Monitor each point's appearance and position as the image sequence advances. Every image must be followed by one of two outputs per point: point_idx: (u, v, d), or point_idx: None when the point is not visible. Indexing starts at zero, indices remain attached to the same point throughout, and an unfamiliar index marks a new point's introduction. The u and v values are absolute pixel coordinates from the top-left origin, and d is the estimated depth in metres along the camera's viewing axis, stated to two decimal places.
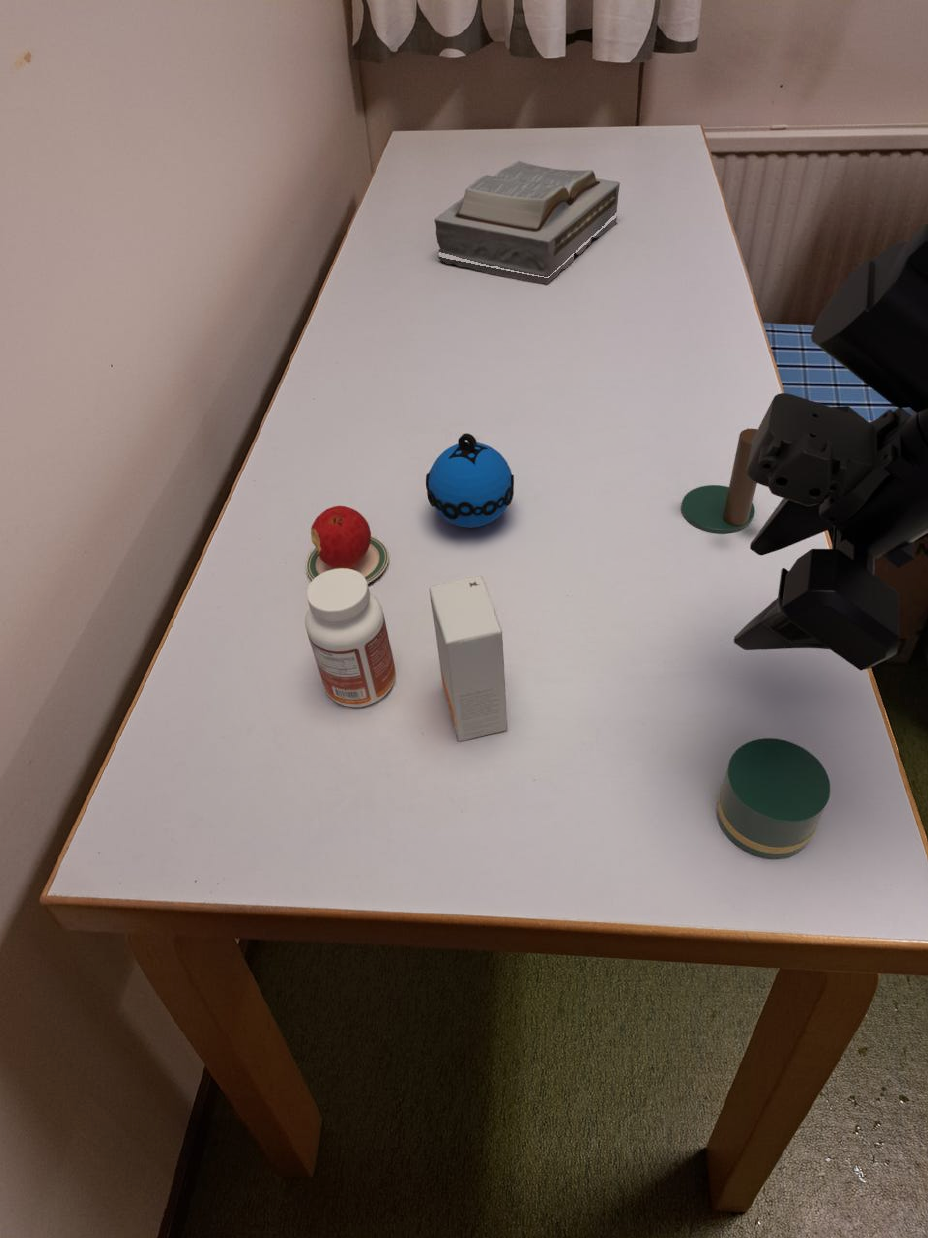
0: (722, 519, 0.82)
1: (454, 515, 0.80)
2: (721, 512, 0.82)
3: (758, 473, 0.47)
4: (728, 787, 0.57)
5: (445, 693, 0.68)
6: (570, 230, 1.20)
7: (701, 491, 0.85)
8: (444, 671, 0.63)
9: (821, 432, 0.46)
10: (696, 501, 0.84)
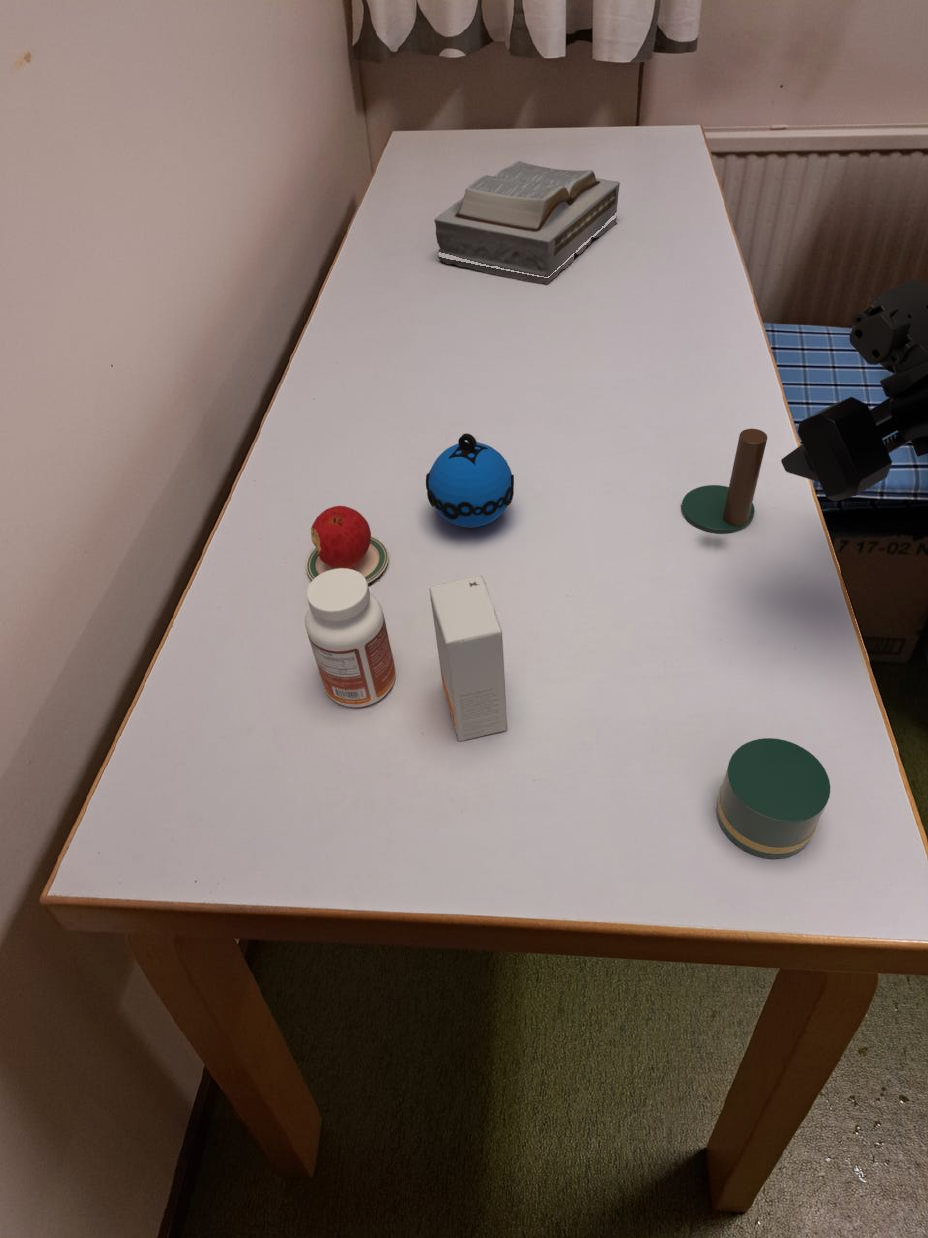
0: (722, 519, 0.82)
1: (454, 515, 0.80)
2: (721, 512, 0.82)
3: None
4: (728, 787, 0.57)
5: (445, 693, 0.68)
6: (570, 230, 1.20)
7: (701, 491, 0.85)
8: (444, 671, 0.63)
9: (919, 318, 0.57)
10: (696, 501, 0.84)
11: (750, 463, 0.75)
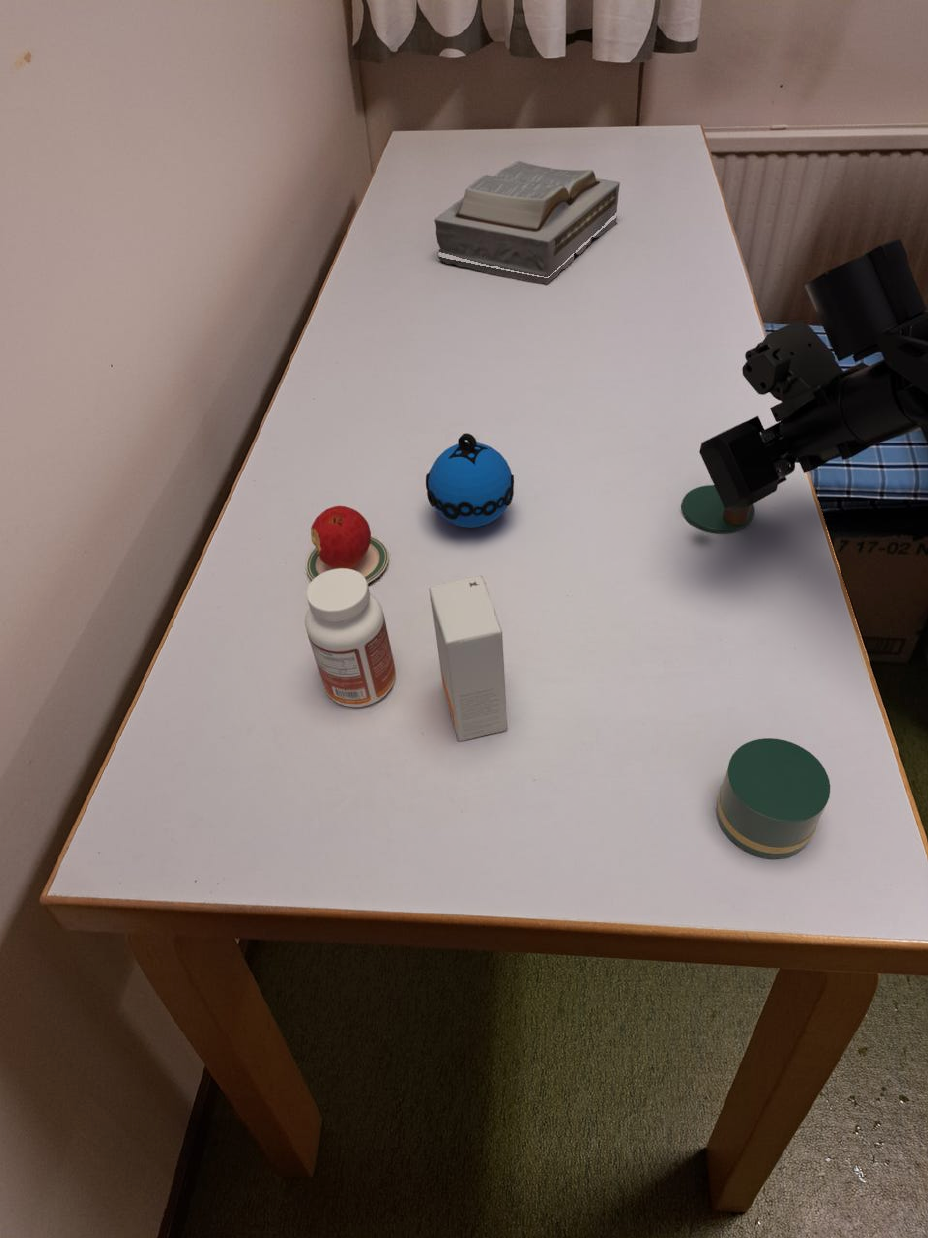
0: (722, 519, 0.82)
1: (454, 515, 0.80)
2: (721, 512, 0.82)
3: None
4: (728, 787, 0.57)
5: (445, 693, 0.68)
6: (570, 230, 1.20)
7: (701, 491, 0.85)
8: (444, 671, 0.63)
9: (800, 355, 0.66)
10: (696, 501, 0.84)
11: None
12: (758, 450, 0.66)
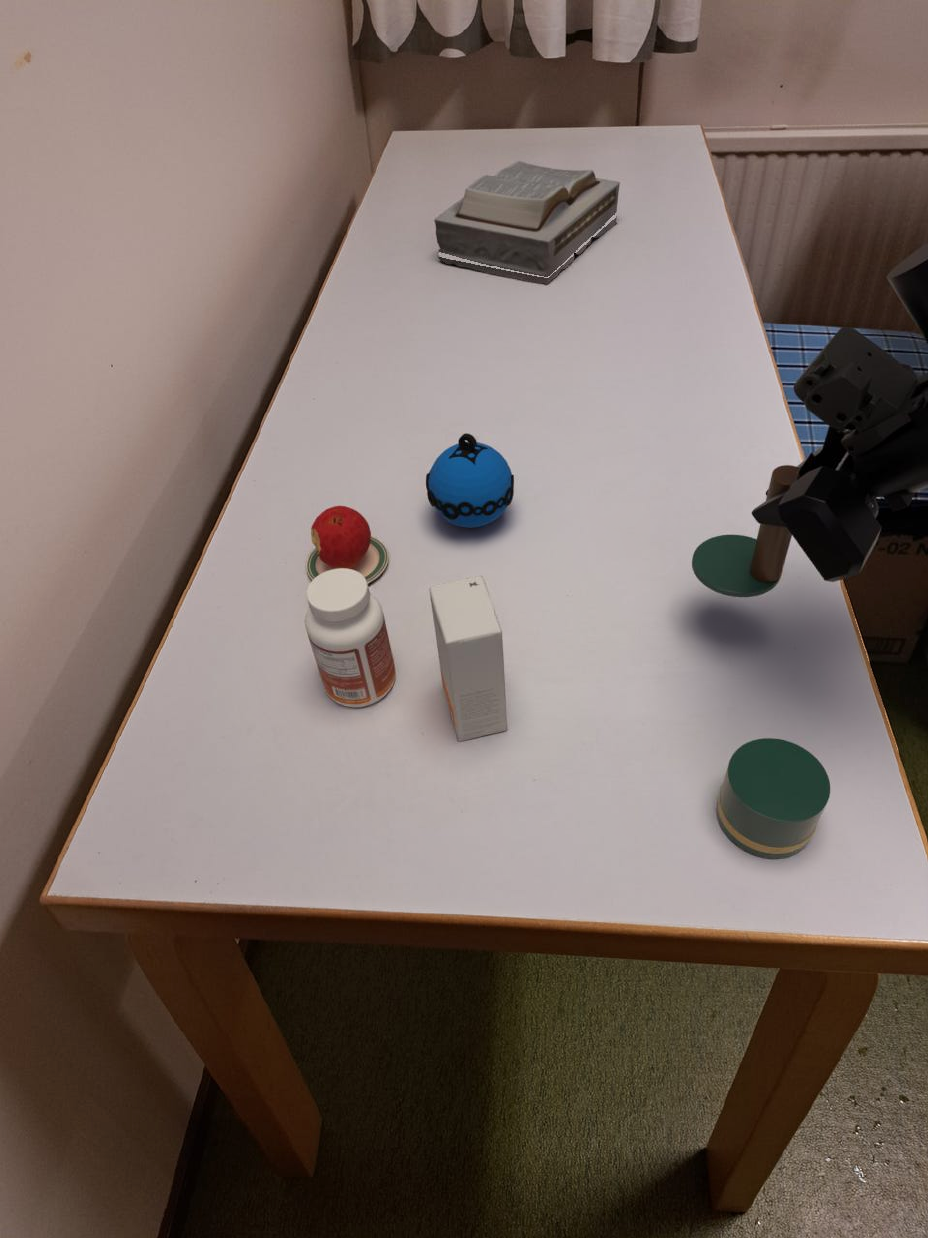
0: (752, 578, 0.66)
1: (454, 515, 0.80)
2: (745, 568, 0.67)
3: (802, 389, 0.52)
4: (728, 787, 0.57)
5: (445, 693, 0.68)
6: (570, 230, 1.20)
7: (707, 548, 0.69)
8: (444, 671, 0.63)
9: (868, 369, 0.51)
10: (709, 562, 0.67)
11: None
12: (853, 499, 0.51)
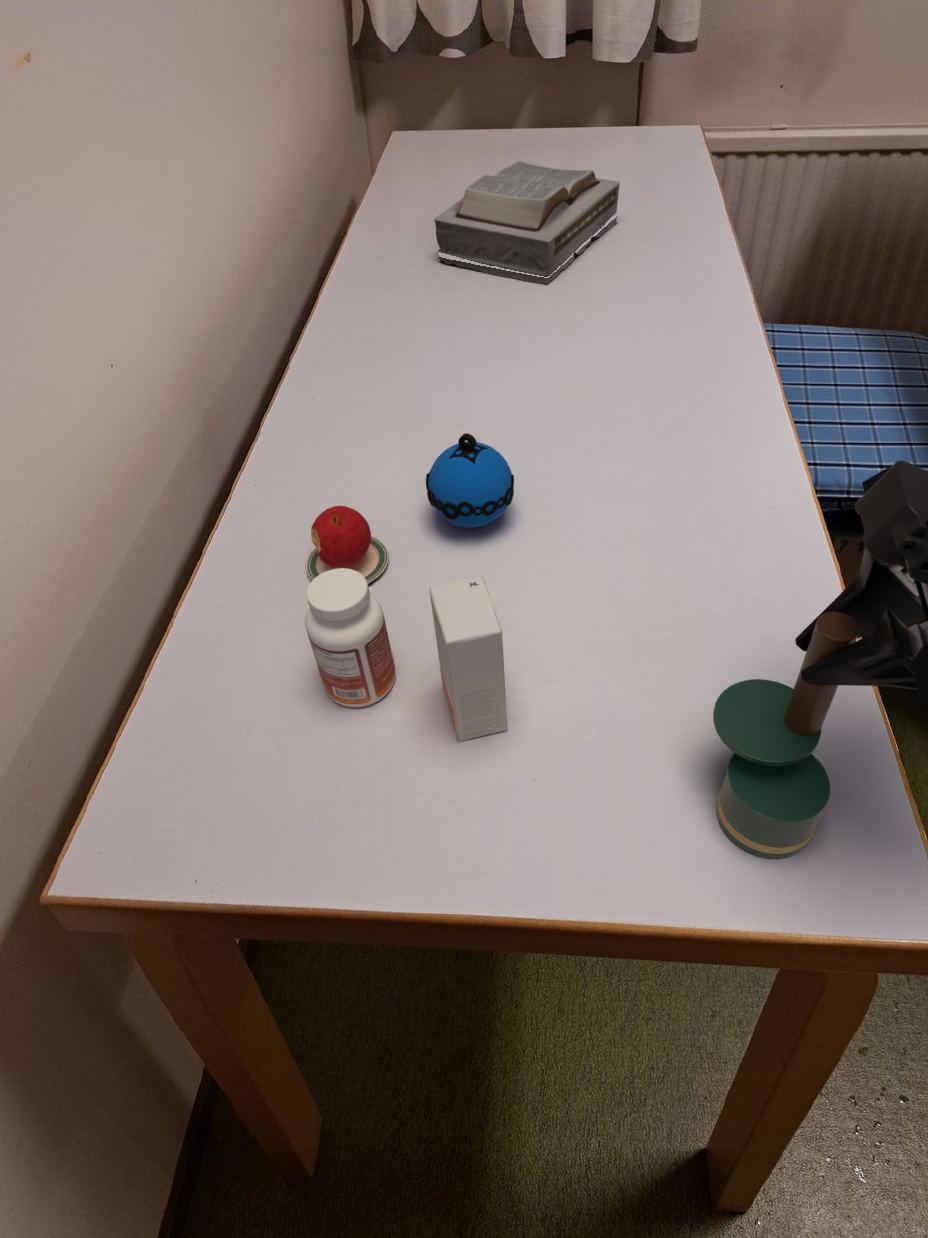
0: (794, 734, 0.56)
1: (454, 515, 0.80)
2: (780, 724, 0.56)
3: (883, 550, 0.42)
4: (728, 787, 0.57)
5: (445, 693, 0.68)
6: (570, 230, 1.20)
7: (725, 710, 0.57)
8: (444, 671, 0.63)
9: None
10: (739, 729, 0.56)
11: None
12: None
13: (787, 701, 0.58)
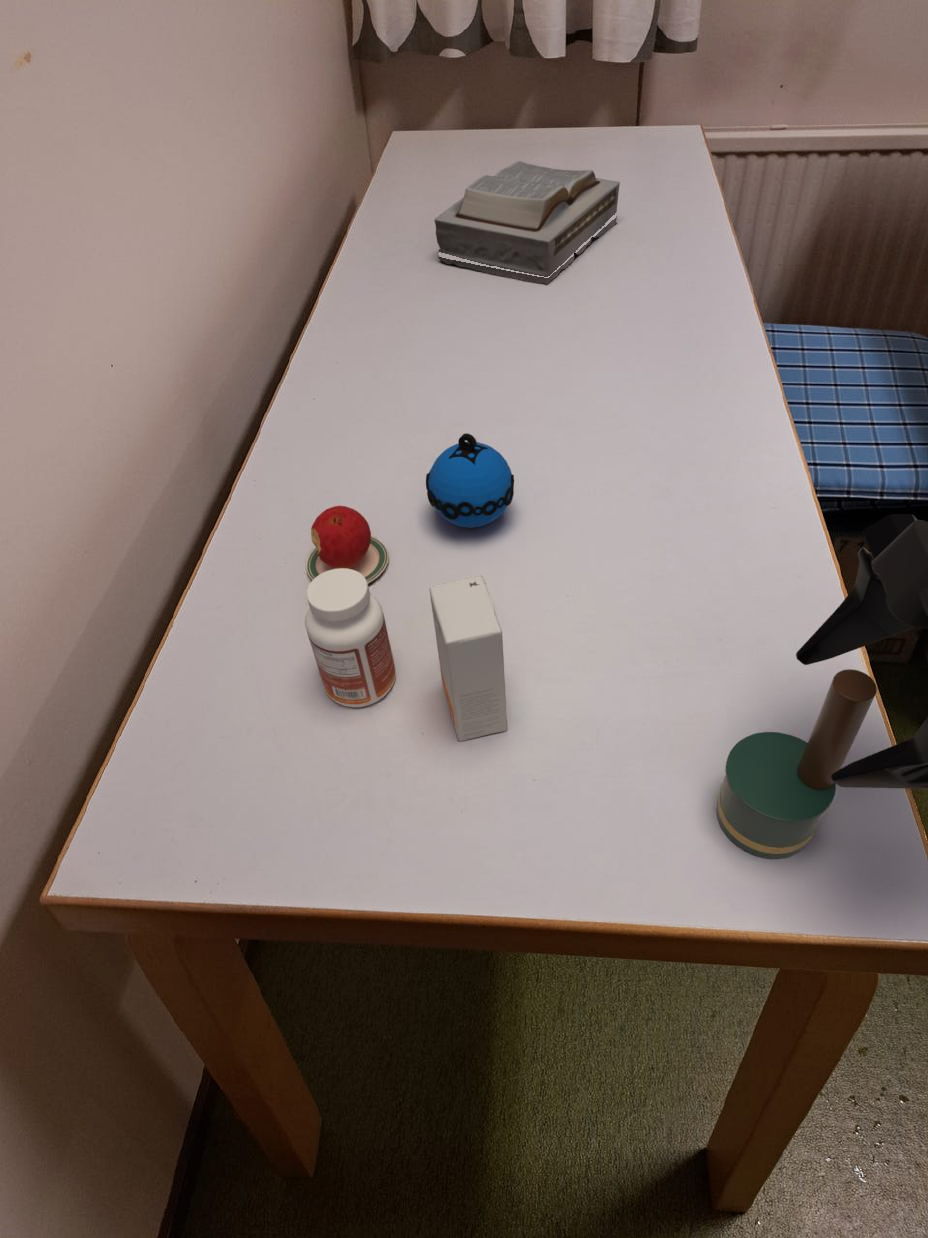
0: (810, 789, 0.55)
1: (454, 515, 0.80)
2: (794, 779, 0.56)
3: (910, 614, 0.41)
4: (728, 787, 0.57)
5: (445, 693, 0.68)
6: (570, 230, 1.20)
7: (738, 768, 0.56)
8: (444, 671, 0.63)
9: None
10: (754, 787, 0.55)
11: (864, 717, 0.50)
12: None
13: (797, 753, 0.57)
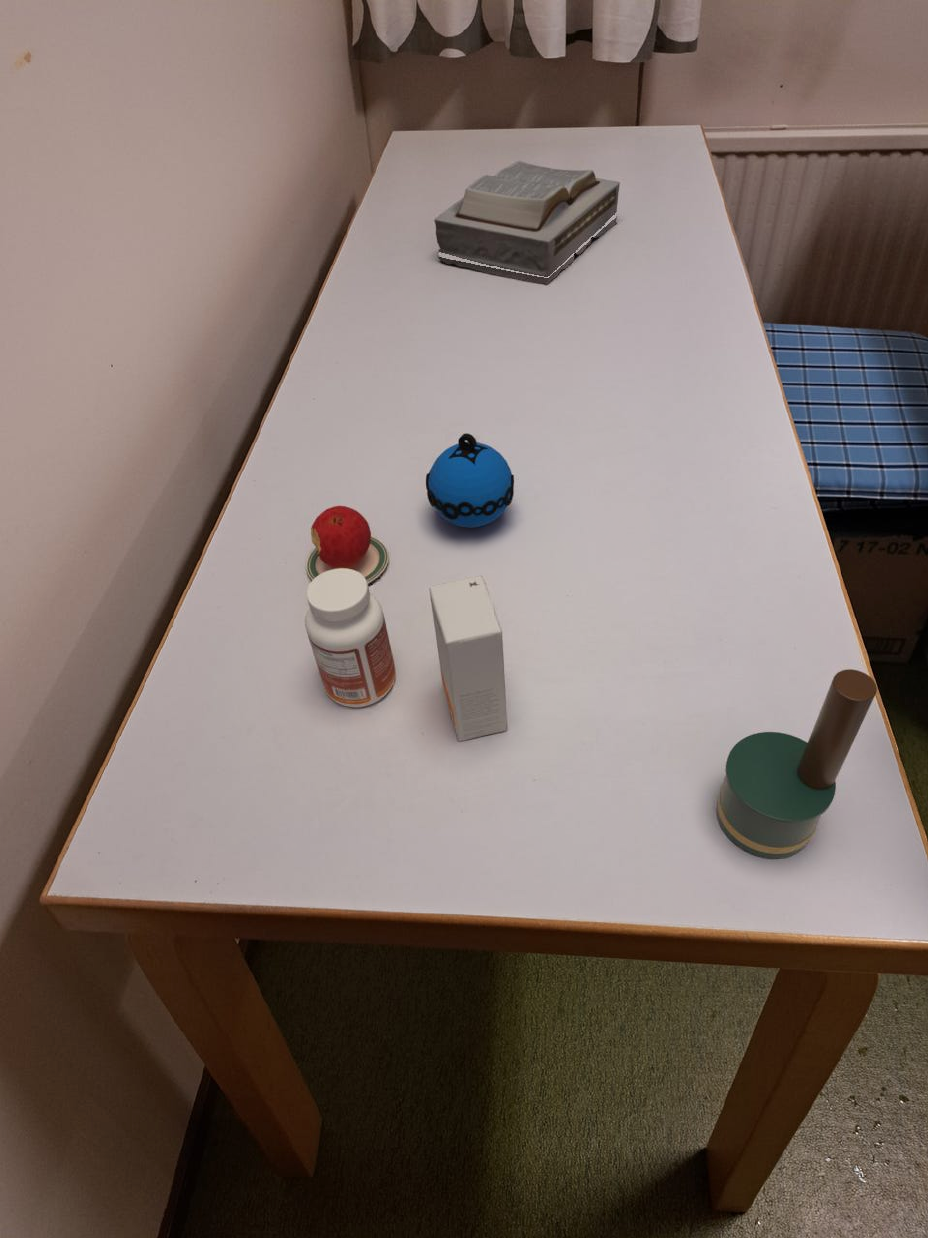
0: (810, 789, 0.55)
1: (454, 515, 0.80)
2: (794, 779, 0.56)
3: None
4: (728, 787, 0.57)
5: (445, 693, 0.68)
6: (570, 230, 1.20)
7: (738, 768, 0.56)
8: (444, 671, 0.63)
9: None
10: (754, 787, 0.55)
11: (864, 717, 0.50)
12: None
13: (797, 753, 0.57)
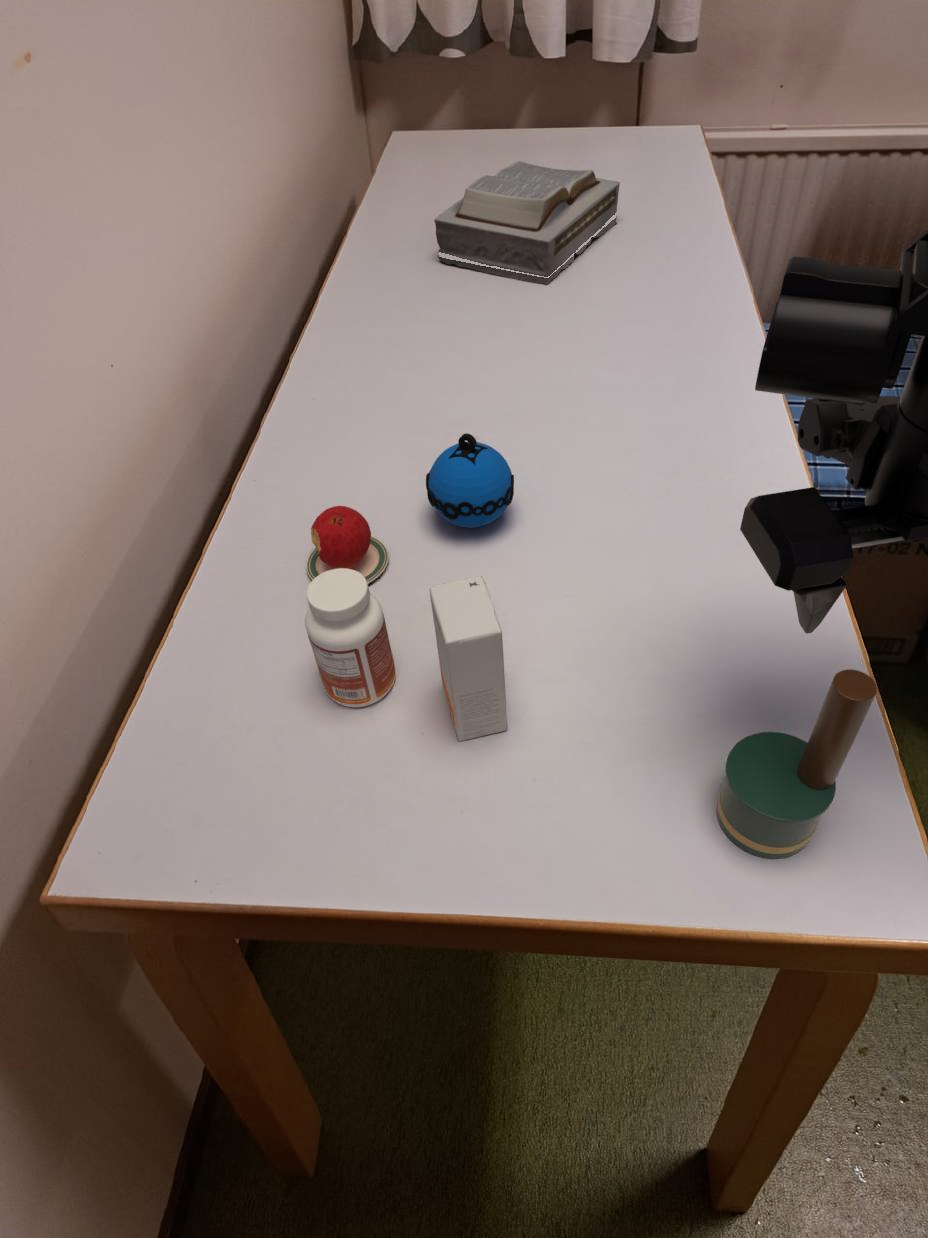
0: (810, 789, 0.55)
1: (454, 515, 0.80)
2: (794, 779, 0.56)
3: None
4: (728, 787, 0.57)
5: (445, 693, 0.68)
6: (570, 230, 1.20)
7: (738, 768, 0.56)
8: (444, 671, 0.63)
9: (874, 409, 0.50)
10: (754, 787, 0.55)
11: (864, 717, 0.50)
12: (813, 505, 0.48)
13: (797, 753, 0.57)
